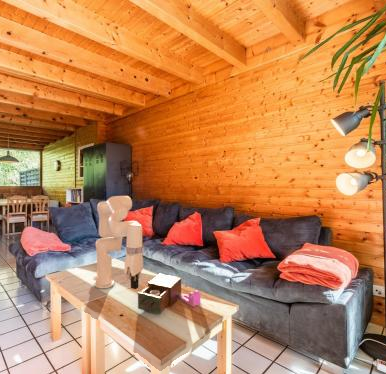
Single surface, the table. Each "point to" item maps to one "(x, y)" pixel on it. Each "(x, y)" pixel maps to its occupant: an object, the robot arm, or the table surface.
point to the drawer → (153, 299)
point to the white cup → (155, 293)
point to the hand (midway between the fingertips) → (134, 287)
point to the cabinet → (168, 285)
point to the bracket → (191, 298)
